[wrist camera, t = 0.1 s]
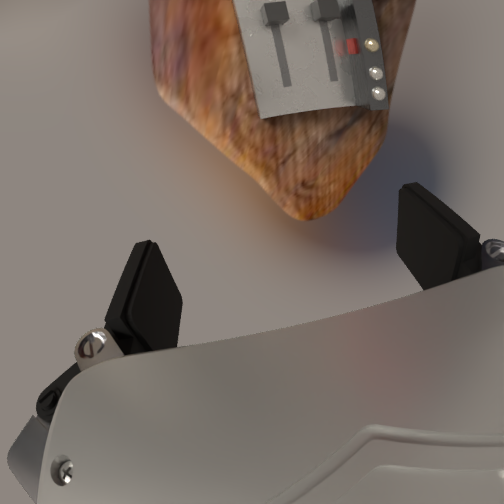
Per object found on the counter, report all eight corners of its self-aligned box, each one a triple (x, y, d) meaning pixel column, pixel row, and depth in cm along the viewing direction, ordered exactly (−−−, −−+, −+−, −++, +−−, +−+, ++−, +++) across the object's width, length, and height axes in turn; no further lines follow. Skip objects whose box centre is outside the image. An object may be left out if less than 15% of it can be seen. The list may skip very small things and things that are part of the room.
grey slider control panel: (230, -7, 26) (230, -27, 19) (341, -15, 25) (367, -31, 19) (258, 115, 36) (266, 125, 29) (363, 101, 36) (392, 110, 29)
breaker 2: (309, 4, 25) (316, -1, 23) (328, 3, 25) (336, -1, 23) (313, 21, 27) (321, 17, 24) (332, 20, 26) (340, 16, 24)
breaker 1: (260, 8, 26) (263, 3, 23) (280, 6, 25) (285, 1, 23) (264, 25, 27) (268, 21, 24) (284, 23, 27) (289, 19, 24)
